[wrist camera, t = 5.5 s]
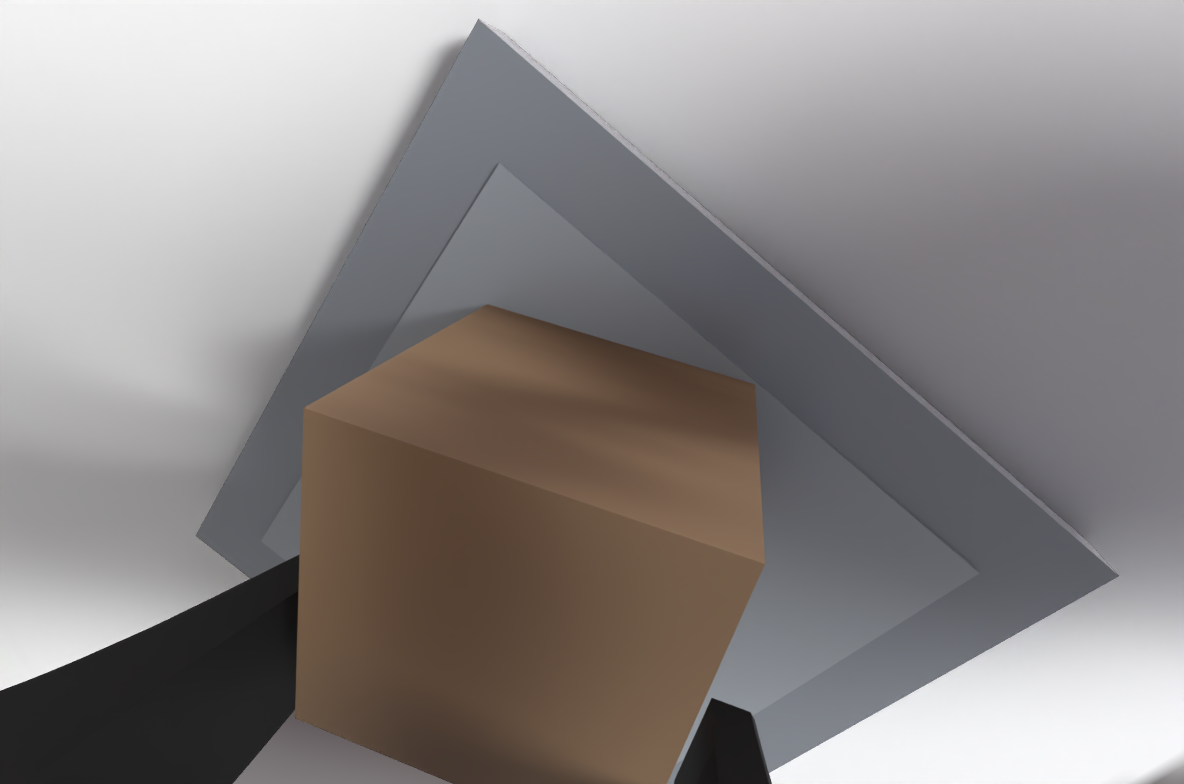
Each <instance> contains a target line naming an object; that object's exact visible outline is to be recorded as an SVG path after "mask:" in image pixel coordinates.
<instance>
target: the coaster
mask: <svg viewBox="0 0 1184 784" xmlns="http://www.w3.org/2000/svg"><path fill="white" fill-rule="evenodd" d="M487 304H489V305H492V306H495V307H499V308H502V309H505V310H509V311H512V312H515V313H519V314H522V315H525V316H529V317H532V318H535V319H539V320H542V321H545V322H549V323H552V324H555V325H559V326H562V327H565V328H569V329H572V330H575V331H579V332H582V333H585V334H589V335H592V336H595V337H599V338H602V339H605V340H609V341H612V342H615V343H619V344H622V345H625V346H629V347H632V348H635V349H639V350H642V351H645V352H649V353H652V354H655V355H659V356H662V357H665V358H669V359H672V360H675V361H679V362H682V363H685V364H689V365H692V366H695V367H699V368H702V369H705V370H709V371H712V372H715V373H719V374H722V375H725V376H729V377H732V378H735V379H739V380H742V381H745V382H749V383H752V384H755V391H756V409H757V427H758V445H759V463H760V481H761V499H762V518H763V536H764V554H765V565H764V568H763V570H762V572H761V574H760V576H759V579H758V581H757V583H756V585H755V588H754V590H753V592H752V594H751V597H750V599H749V601H748V603H747V606H746V608H745V610H744V612H743V615H742V617H741V619H740V621H739V624H738V626H737V628H736V630H735V633H734V635H733V637H732V639H731V641H730V644H729V646H728V648H727V650H726V653H725V655H724V657H723V659H722V662H721V664H720V666H719V668H718V671H717V673H716V675H715V677H714V680H713V682H712V684H711V686H710V689H709V691H708V693H707V695H706V698H705V700H704V702H703V704H702V706H701V709H700V711H699V713H698V715H697V718H696V720H695V722H694V724H693V727H692V729H691V731H690V733H689V736H688V738H687V740H686V742H685V745H684V747H683V749H682V751H681V754H680V756H679V758H678V760H677V763H676V765H675V767H674V769H673V771H672V774H671V776H670V778H669V780H668V783H667V784H674V780H675V778H676V775H677V773H678V771H679V769H680V767H681V764H682V762H683V760H684V758H685V756H686V753H687V751H688V749H689V747H690V745H691V742H692V740H693V738H694V736H695V733H696V731H697V729H698V727H699V725H700V722H701V720H702V718H703V716H704V714H705V711H706V709H707V707H708V705H709V703H710V700H711V698H714V699H717V700H719V701H722V702H725V703H727V704H730V705H733V706H736V707H738V708H741V709H744V710H746V711H749V712H751V714H752V716H753V717H754V719H755V723H756V727H757V731H758V735H759V739H760V742H761V746H762V750H763V754H764V758H765V761H766V765H767V769H768V772H769V773H770V772H771V771H773V770H775V769H777V768H779V767H780V766H782V765H784V764H786V763H787V762H789V761H791V760H793V759H795V758H796V757H798V756H800V755H802V754H803V753H805V752H807V751H809V750H811V749H812V748H814V747H816V746H818V745H819V744H821V743H823V742H825V741H827V740H828V739H830V738H832V737H834V736H835V735H837V734H839V733H841V732H843V731H844V730H846V729H848V728H850V727H851V726H853V725H855V724H857V723H859V722H860V721H862V720H864V719H866V718H867V717H869V716H871V715H873V714H875V713H876V712H878V711H880V710H882V709H883V708H885V707H887V706H889V705H891V704H892V703H894V702H896V701H898V700H899V699H901V698H903V697H905V696H907V695H908V694H910V693H912V692H914V691H915V690H917V689H919V688H921V687H923V686H924V685H926V684H928V683H930V682H931V681H933V680H935V679H937V678H939V677H940V676H942V675H944V674H946V673H948V672H949V671H951V670H953V669H955V668H956V667H958V666H960V665H962V664H964V663H965V662H967V661H969V660H971V659H972V658H974V657H976V656H978V655H980V654H981V653H983V652H985V651H987V650H988V649H990V648H992V647H994V646H996V645H997V644H999V643H1001V642H1003V641H1004V640H1006V639H1008V638H1010V637H1012V636H1013V635H1015V634H1017V633H1019V632H1020V631H1022V630H1024V629H1026V628H1028V627H1029V626H1031V625H1033V624H1035V623H1036V622H1038V621H1040V620H1042V619H1044V618H1045V617H1047V616H1049V615H1051V614H1052V613H1054V612H1056V611H1058V610H1060V609H1061V608H1063V607H1065V606H1067V605H1068V604H1070V603H1072V602H1074V601H1076V600H1077V599H1079V598H1081V597H1083V596H1084V595H1086V594H1088V593H1090V592H1092V591H1093V590H1095V589H1097V588H1099V587H1100V586H1102V585H1104V584H1106V583H1108V582H1109V581H1111V580H1113V579H1115V578H1116V577H1118V576H1119V575H1118V574H1117V573H1116V572H1115V571H1114V570H1113V569H1112V567H1111V566H1110V565H1109V564H1108V563H1107V562H1106V561H1105V560H1104V559H1103V557H1102V556H1101V555H1100V554H1099V553H1098V552H1097V551H1096V550H1095V549H1094V548H1093V546H1092V545H1091V544H1090V543H1089V542H1088V541H1087V540H1086V539H1085V538H1083V537H1082V536H1081V535H1080V534H1079V533H1078V532H1077V531H1075V530H1074V529H1073V528H1072V527H1071V526H1070V525H1069V524H1067V523H1066V522H1065V521H1064V520H1063V519H1062V518H1060V517H1059V516H1058V515H1057V514H1056V513H1055V512H1054V511H1052V510H1051V509H1050V508H1049V507H1048V506H1047V505H1046V504H1044V503H1043V502H1042V501H1041V500H1040V499H1039V498H1037V497H1036V496H1035V495H1034V494H1033V493H1032V492H1031V491H1029V490H1028V489H1027V488H1026V487H1025V486H1024V485H1023V484H1021V483H1020V482H1019V481H1018V480H1017V479H1016V478H1015V477H1013V476H1012V475H1011V474H1010V473H1009V472H1008V471H1006V470H1005V469H1004V468H1003V467H1002V466H1001V465H1000V464H998V463H997V462H996V461H995V460H994V459H993V458H992V457H990V456H989V455H988V454H987V453H986V452H985V451H983V450H982V449H981V448H980V447H979V446H978V445H977V444H975V443H974V442H973V441H972V440H971V439H970V438H969V437H967V436H966V435H965V434H964V433H963V432H962V431H961V430H959V429H958V428H957V427H956V426H955V425H954V424H952V423H951V422H950V421H949V420H948V419H947V418H946V417H944V416H943V415H942V414H941V413H940V412H939V411H938V410H936V409H935V408H934V407H933V406H932V405H931V404H929V403H928V402H927V401H926V400H925V399H924V398H923V397H921V396H920V395H919V394H918V393H917V392H916V391H915V390H913V389H912V388H911V387H910V386H909V385H908V384H907V383H905V382H904V381H903V380H902V379H901V378H900V377H898V376H897V375H896V374H895V373H894V372H893V371H892V370H890V369H889V368H888V367H887V366H886V365H885V364H884V363H882V362H881V361H880V360H879V359H878V358H877V357H875V356H874V355H873V354H872V353H871V352H870V351H869V350H867V349H866V348H865V347H864V346H863V345H862V344H861V343H859V342H858V341H857V340H856V339H855V338H854V337H852V336H851V335H850V334H849V333H848V332H847V331H846V330H844V329H843V328H842V327H841V326H840V325H839V324H838V323H836V322H835V321H834V320H833V319H832V318H831V317H830V316H828V315H827V314H826V313H825V312H824V311H823V310H821V309H820V308H819V307H818V306H817V305H816V304H815V303H813V302H812V301H811V300H810V299H809V298H808V297H807V296H805V295H804V294H803V293H802V292H801V291H800V290H798V289H797V288H796V287H795V286H794V285H793V284H792V283H790V282H789V281H788V280H787V279H786V278H785V277H784V276H782V275H781V274H780V273H779V272H778V271H777V270H776V269H774V268H773V267H772V266H771V265H770V264H769V263H767V262H766V261H765V260H764V259H763V258H762V257H761V256H759V255H758V254H757V253H756V252H755V251H754V250H753V249H751V248H750V247H749V246H748V245H747V244H746V243H744V242H743V241H742V240H741V239H740V238H739V237H738V236H736V235H735V234H734V233H733V232H732V231H731V230H730V229H728V228H727V227H726V226H725V225H724V224H723V223H722V222H720V221H719V220H718V219H717V218H716V217H715V216H713V215H712V214H711V213H710V212H709V211H708V210H707V209H705V208H704V207H703V206H702V205H701V204H700V203H699V202H697V201H696V200H695V199H694V198H693V197H692V196H690V195H689V194H688V193H687V192H686V191H685V190H684V189H682V188H681V187H680V186H679V185H678V184H677V183H676V182H674V181H673V180H672V179H671V178H670V177H669V176H668V175H666V174H665V173H664V172H663V171H662V170H661V169H659V168H658V167H657V166H656V165H655V164H654V163H653V162H651V161H650V160H649V159H648V158H647V157H646V156H645V155H643V154H642V153H641V152H640V151H639V150H638V149H636V148H635V147H634V146H633V145H632V144H631V143H630V142H628V141H627V140H626V139H625V138H624V137H623V136H622V135H620V134H619V133H618V132H617V131H616V130H615V129H613V128H612V127H611V126H610V125H609V124H608V123H607V122H605V121H604V120H603V119H602V118H601V117H600V116H599V115H597V114H596V113H595V112H594V111H593V110H592V109H591V108H589V107H588V106H587V105H586V104H585V103H584V102H582V101H581V100H580V99H579V98H578V97H577V96H576V95H574V94H573V93H572V92H571V91H570V90H569V89H568V88H566V87H565V86H564V85H563V84H562V83H561V82H559V81H558V80H557V79H556V78H555V77H554V76H553V75H551V74H550V73H549V72H548V71H547V70H546V69H545V68H543V67H542V66H541V65H540V64H539V63H538V62H537V61H535V60H534V59H533V58H532V57H531V56H530V55H528V54H527V53H526V52H525V51H524V50H523V49H522V48H520V47H519V46H518V45H517V44H516V43H515V42H514V41H512V40H511V39H510V38H509V37H508V36H507V35H505V34H504V33H503V32H502V31H500V30H498V29H496V28H495V27H493V26H491V25H489V24H487V23H485V22H483V21H481V20H480V19H478V20H477V22H476V24H475V26H474V28H473V30H472V31H471V33H470V35H469V37H468V39H467V41H466V42H465V44H464V46H463V48H462V50H461V52H460V53H459V55H458V57H457V59H456V61H455V63H454V64H453V66H452V68H451V70H450V72H449V74H448V75H447V77H446V79H445V81H444V83H443V85H442V86H441V88H440V90H439V92H438V94H437V95H436V97H435V99H434V101H433V103H432V105H431V106H430V108H429V110H428V112H427V114H426V116H425V117H424V119H423V121H422V123H421V125H420V127H419V128H418V130H417V132H416V134H415V136H414V138H413V139H412V141H411V143H410V145H409V147H408V149H407V150H406V152H405V154H404V156H403V158H402V160H401V161H400V163H399V165H398V167H397V169H396V170H395V172H394V174H393V176H392V178H391V180H390V181H389V183H388V185H387V187H386V189H385V191H384V192H383V194H382V196H381V198H380V200H379V202H378V203H377V205H376V207H375V209H374V211H373V213H372V214H371V216H370V218H369V220H368V222H367V224H366V225H365V227H364V229H363V231H362V233H361V235H360V236H359V238H358V240H357V242H356V244H355V246H354V247H353V249H352V251H351V253H350V255H349V256H348V258H347V260H346V262H345V264H344V266H343V267H342V269H341V271H340V273H339V275H338V277H337V278H336V280H335V282H334V284H333V286H332V288H331V289H330V291H329V293H328V295H327V297H326V299H325V300H324V302H323V304H322V306H321V308H320V310H319V311H318V313H317V315H316V317H315V319H314V321H313V322H312V324H311V326H310V328H309V330H308V331H307V333H306V335H305V337H304V339H303V341H302V342H301V344H300V346H299V348H298V350H297V352H296V353H295V355H294V357H293V359H292V361H291V363H290V364H289V366H288V368H287V370H286V372H285V374H284V375H283V377H282V379H281V381H280V383H279V385H278V386H277V388H276V390H275V392H274V394H273V396H272V397H271V399H270V401H269V403H268V405H267V406H266V408H265V410H264V412H263V414H262V416H261V417H260V419H259V421H258V423H257V425H256V427H255V428H254V430H253V432H252V434H251V436H250V438H249V439H248V441H247V443H246V445H245V447H244V449H243V450H242V452H241V454H240V456H239V458H238V460H237V461H236V463H235V465H234V467H233V469H232V471H231V472H230V474H229V476H228V478H227V480H226V481H225V483H224V485H223V487H222V489H221V491H220V492H219V494H218V496H217V498H216V500H215V502H214V503H213V505H212V507H211V509H210V511H209V513H208V514H207V516H206V518H205V520H204V522H203V524H202V525H201V527H200V529H199V531H198V533H197V535H196V536H197V537H198V538H199V539H201V540H202V541H203V542H204V543H206V544H207V545H208V546H210V547H211V548H212V549H213V550H215V551H216V552H217V553H219V554H220V555H221V556H222V557H224V558H225V559H226V560H228V561H229V562H230V563H231V564H233V565H234V566H235V567H237V568H238V569H239V570H240V571H242V572H243V573H244V574H245V575H247V576H248V577H249V578H253V577H255V576H257V575H259V574H261V573H263V572H265V571H267V570H269V569H271V568H273V567H275V566H277V565H279V564H281V563H283V562H285V561H287V560H289V559H291V558H293V557H295V556H297V555H299V554H300V520H301V484H302V448H303V412H304V407H306V406H308V405H310V404H311V403H313V402H315V401H317V400H318V399H320V398H322V397H324V396H326V395H327V394H329V393H331V392H333V391H334V390H336V389H338V388H340V387H342V386H343V385H345V384H347V383H349V382H350V381H352V380H354V379H356V378H357V377H359V376H361V375H363V374H365V373H366V372H368V371H370V370H372V369H373V368H375V367H377V366H379V365H381V364H382V363H384V362H386V361H388V360H389V359H391V358H393V357H395V356H397V355H398V354H400V353H402V352H404V351H405V350H407V349H409V348H411V347H412V346H414V345H416V344H418V343H420V342H421V341H423V340H425V339H427V338H428V337H430V336H432V335H434V334H436V333H437V332H439V331H441V330H443V329H444V328H446V327H448V326H450V325H451V324H453V323H455V322H457V321H459V320H460V319H462V318H464V317H466V316H467V315H469V314H471V313H473V312H475V311H476V310H478V309H480V308H482V307H483V306H485V305H487Z"/></svg>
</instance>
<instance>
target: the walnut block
mask: <svg viewBox="0 0 1184 784" xmlns="http://www.w3.org/2000/svg"><path fill="white" fill-rule="evenodd" d="M764 565H765V554H764V536H763V518H762V499H761V481H760V463H759V445H758V427H757V409H756V391H755V384H752V383H749V382H745V381H742V380H739V379H735V378H732V377H729V376H725V375H722V374H719V373H715V372H712V371H709V370H705V369H702V368H699V367H695V366H692V365H689V364H685V363H682V362H679V361H675V360H672V359H669V358H665V357H662V356H659V355H655V354H652V353H649V352H645V351H642V350H639V349H635V348H632V347H629V346H625V345H622V344H619V343H615V342H612V341H609V340H605V339H602V338H599V337H595V336H592V335H589V334H585V333H582V332H579V331H575V330H572V329H569V328H565V327H562V326H559V325H555V324H552V323H549V322H545V321H542V320H539V319H535V318H532V317H529V316H525V315H522V314H519V313H515V312H512V311H509V310H505V309H502V308H499V307H495V306H492V305H489V304H487V305H485V306H483V307H482V308H480V309H478V310H476V311H475V312H473V313H471V314H469V315H467V316H466V317H464V318H462V319H460V320H459V321H457V322H455V323H453V324H451V325H450V326H448V327H446V328H444V329H443V330H441V331H439V332H437V333H436V334H434V335H432V336H430V337H428V338H427V339H425V340H423V341H421V342H420V343H418V344H416V345H414V346H412V347H411V348H409V349H407V350H405V351H404V352H402V353H400V354H398V355H397V356H395V357H393V358H391V359H389V360H388V361H386V362H384V363H382V364H381V365H379V366H377V367H375V368H373V369H372V370H370V371H368V372H366V373H365V374H363V375H361V376H359V377H357V378H356V379H354V380H352V381H350V382H349V383H347V384H345V385H343V386H342V387H340V388H338V389H336V390H334V391H333V392H331V393H329V394H327V395H326V396H324V397H322V398H320V399H318V400H317V401H315V402H313V403H311V404H310V405H308V406H306V407H304V412H303V448H302V484H301V520H300V556H299V592H298V627H297V663H296V699H295V718H296V719H298V720H301V721H303V722H306V723H308V724H311V725H313V726H315V727H318V728H320V729H322V730H325V731H327V732H330V733H332V734H335V735H337V736H340V737H342V738H344V739H347V740H349V741H352V742H354V743H357V744H359V745H361V746H364V747H366V748H369V749H371V750H373V751H376V752H378V753H380V754H383V755H385V756H388V757H390V758H393V759H395V760H397V761H400V762H402V763H405V764H407V765H409V766H412V767H414V768H417V769H419V770H421V771H424V772H426V773H429V774H431V775H434V776H436V777H438V778H441V779H443V780H446V781H448V782H450V783H453V784H667V783H668V780H669V778H670V776H671V774H672V771H673V769H674V767H675V765H676V763H677V760H678V758H679V756H680V754H681V751H682V749H683V747H684V745H685V742H686V740H687V738H688V736H689V733H690V731H691V729H692V727H693V724H694V722H695V720H696V718H697V715H698V713H699V711H700V709H701V706H702V704H703V702H704V700H705V698H706V695H707V693H708V691H709V689H710V686H711V684H712V682H713V680H714V677H715V675H716V673H717V671H718V668H719V666H720V664H721V662H722V659H723V657H724V655H725V653H726V650H727V648H728V646H729V644H730V641H731V639H732V637H733V635H734V633H735V630H736V628H737V626H738V624H739V621H740V619H741V617H742V615H743V612H744V610H745V608H746V606H747V603H748V601H749V599H750V597H751V594H752V592H753V590H754V588H755V585H756V583H757V581H758V579H759V576H760V574H761V572H762V570H763V568H764Z"/></svg>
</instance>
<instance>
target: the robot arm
mask: <svg viewBox="0 0 1184 784" xmlns="http://www.w3.org/2000/svg"><path fill="white" fill-rule="evenodd" d="M299 556H300V554H299V555H297V556H295V557H293V558H291V559H289V560H287V561H285V562H283V563H281V564H279V565H277V566H275V567H273V568H271V569H269V570H267V571H265V572H263V573H261V574H259V575H257V576H255V577H253V578H251V579H249V580H247V581H245V582H243V583H241V584H239V585H237V586H235V587H233V588H231V589H229V590H227V591H225V592H223V593H221V594H219V595H217V596H215V597H213V598H211V599H209V600H207V601H205V602H203V603H201V604H199V605H197V606H195V607H192V608H190V609H188V610H186V611H184V612H182V613H180V614H178V615H176V616H174V617H172V618H170V619H168V620H166V621H163V622H161V623H159V624H157V625H155V626H153V627H151V628H149V629H146V630H144V631H142V632H140V633H137V634H135V635H133V636H131V637H128V638H126V639H124V640H122V641H119V642H117V643H115V644H113V645H110V646H108V647H106V648H104V649H101V650H99V651H97V652H95V653H92V654H90V655H88V656H86V657H83V658H81V659H79V660H76V661H74V662H72V663H69V664H67V665H64V666H62V667H60V668H57V669H55V670H52V671H50V672H47V673H45V674H43V675H40V676H38V677H35V678H33V679H30V680H28V681H25V682H22V683H20V684H17V685H14V686H12V687H9V688H6V689H4V690H1V691H0V784H233V782H234V781H235V780H236V779H237V778H238V776H239V775H240V774H241V773H242V772H243V770H245V768H246V767H247V766H248V765H249V764H250V762H251V761H252V760H253V759H254V758H255V757H256V755H257V754H258V753H259V752H260V751H261V750H262V748H263V747H264V746H265V745H266V744H267V742H268V741H269V740H270V739H271V738H272V736H273V735H274V734H275V733H276V732H277V730H278V729H279V728H280V727H281V726H282V724H283V723H284V722H285V721H286V720H287V718H288V717H289V716H290V715H291V714H292V712H293V711H294V710H295V699H296V663H297V627H298V592H299ZM674 784H772V783H771V779H770V776H769V772H768V769H767V765H766V761H765V758H764V754H763V750H762V746H761V742H760V739H759V735H758V731H757V727H756V723H755V719H754V717H753V716H752V714H751V712H749V711H746V710H744V709H741V708H738V707H736V706H733V705H730V704H727V703H725V702H722V701H719V700H717V699H714V698H711V700H710V703H709V705H708V707H707V709H706V711H705V714H704V716H703V718H702V720H701V722H700V725H699V727H698V729H697V731H696V733H695V736H694V738H693V740H692V742H691V745H690V747H689V749H688V751H687V753H686V756H685V758H684V760H683V762H682V764H681V767H680V769H679V771H678V773H677V775H676V778H675V780H674Z"/></svg>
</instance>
